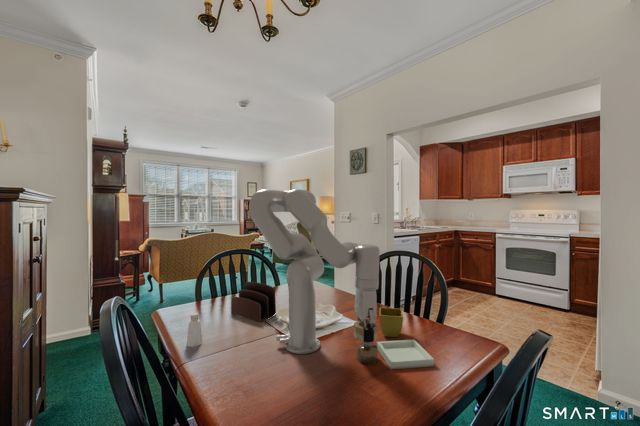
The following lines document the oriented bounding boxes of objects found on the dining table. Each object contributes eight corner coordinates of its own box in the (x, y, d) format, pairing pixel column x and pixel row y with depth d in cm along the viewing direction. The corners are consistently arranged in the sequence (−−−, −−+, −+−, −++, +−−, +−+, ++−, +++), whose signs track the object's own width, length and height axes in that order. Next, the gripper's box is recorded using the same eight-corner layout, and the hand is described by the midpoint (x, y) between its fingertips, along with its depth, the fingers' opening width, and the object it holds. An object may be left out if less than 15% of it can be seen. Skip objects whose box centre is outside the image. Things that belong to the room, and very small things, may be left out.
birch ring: (357, 341, 94) (357, 329, 94) (352, 332, 101) (352, 320, 101) (378, 341, 95) (379, 328, 95) (372, 331, 102) (372, 320, 102)
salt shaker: (205, 342, 111) (205, 312, 110) (194, 348, 106) (193, 317, 105) (195, 339, 113) (194, 310, 113) (183, 345, 108) (182, 315, 108)
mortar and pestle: (360, 365, 94) (360, 336, 94) (355, 354, 101) (355, 328, 101) (380, 363, 95) (380, 335, 95) (373, 353, 102) (374, 327, 102)
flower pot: (403, 340, 112) (403, 316, 111) (379, 338, 113) (379, 315, 113) (401, 330, 120) (401, 308, 120) (379, 329, 122) (379, 307, 122)
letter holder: (247, 307, 149) (247, 279, 148) (276, 316, 137) (276, 285, 137) (230, 313, 140) (230, 283, 140) (260, 323, 129) (260, 290, 129)
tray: (391, 369, 92) (391, 362, 92) (376, 347, 106) (376, 341, 106) (434, 366, 94) (434, 359, 94) (414, 345, 108) (414, 339, 108)
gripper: (349, 276, 106) (348, 325, 106) (362, 290, 89) (361, 349, 89) (370, 276, 107) (368, 325, 107) (387, 290, 90) (385, 348, 90)
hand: (365, 335), depth 98 cm, fingers closed on birch ring, 7 cm apart
